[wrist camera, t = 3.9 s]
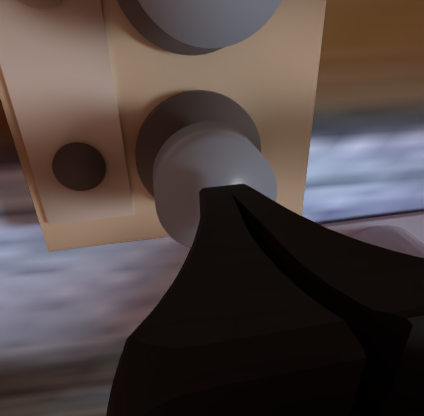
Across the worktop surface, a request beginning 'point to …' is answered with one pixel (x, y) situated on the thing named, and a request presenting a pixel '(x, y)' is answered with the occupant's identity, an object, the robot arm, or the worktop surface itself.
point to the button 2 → (204, 173)
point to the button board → (143, 106)
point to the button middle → (210, 19)
